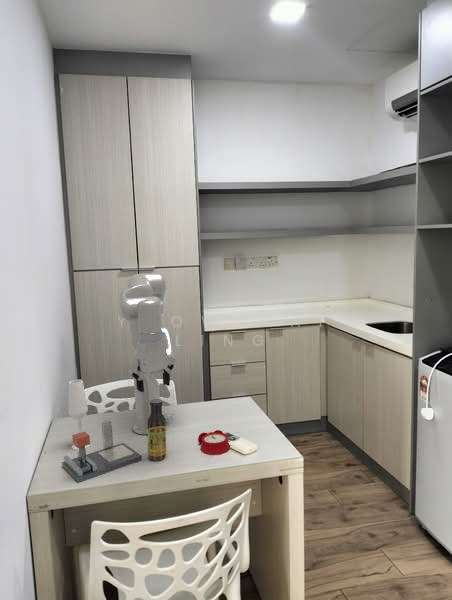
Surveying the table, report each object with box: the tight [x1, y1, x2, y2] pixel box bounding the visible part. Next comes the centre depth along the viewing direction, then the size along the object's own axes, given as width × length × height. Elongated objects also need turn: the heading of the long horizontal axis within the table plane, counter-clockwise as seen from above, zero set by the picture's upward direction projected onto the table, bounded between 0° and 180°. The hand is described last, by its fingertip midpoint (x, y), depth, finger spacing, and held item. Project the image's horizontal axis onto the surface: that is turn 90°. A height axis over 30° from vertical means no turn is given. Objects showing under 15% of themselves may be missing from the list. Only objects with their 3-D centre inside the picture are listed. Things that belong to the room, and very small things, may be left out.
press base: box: [61, 419, 143, 484], centre depth 155 cm, size 22×14×12 cm, turn 128°
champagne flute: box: [68, 379, 91, 450], centre depth 169 cm, size 7×7×24 cm
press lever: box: [71, 431, 91, 473], centre depth 148 cm, size 4×5×11 cm
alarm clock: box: [197, 429, 231, 456], centre depth 165 cm, size 10×6×15 cm
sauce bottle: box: [147, 398, 167, 462], centre depth 158 cm, size 6×6×20 cm
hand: (153, 387), depth 155 cm, fingers open, 9 cm apart
